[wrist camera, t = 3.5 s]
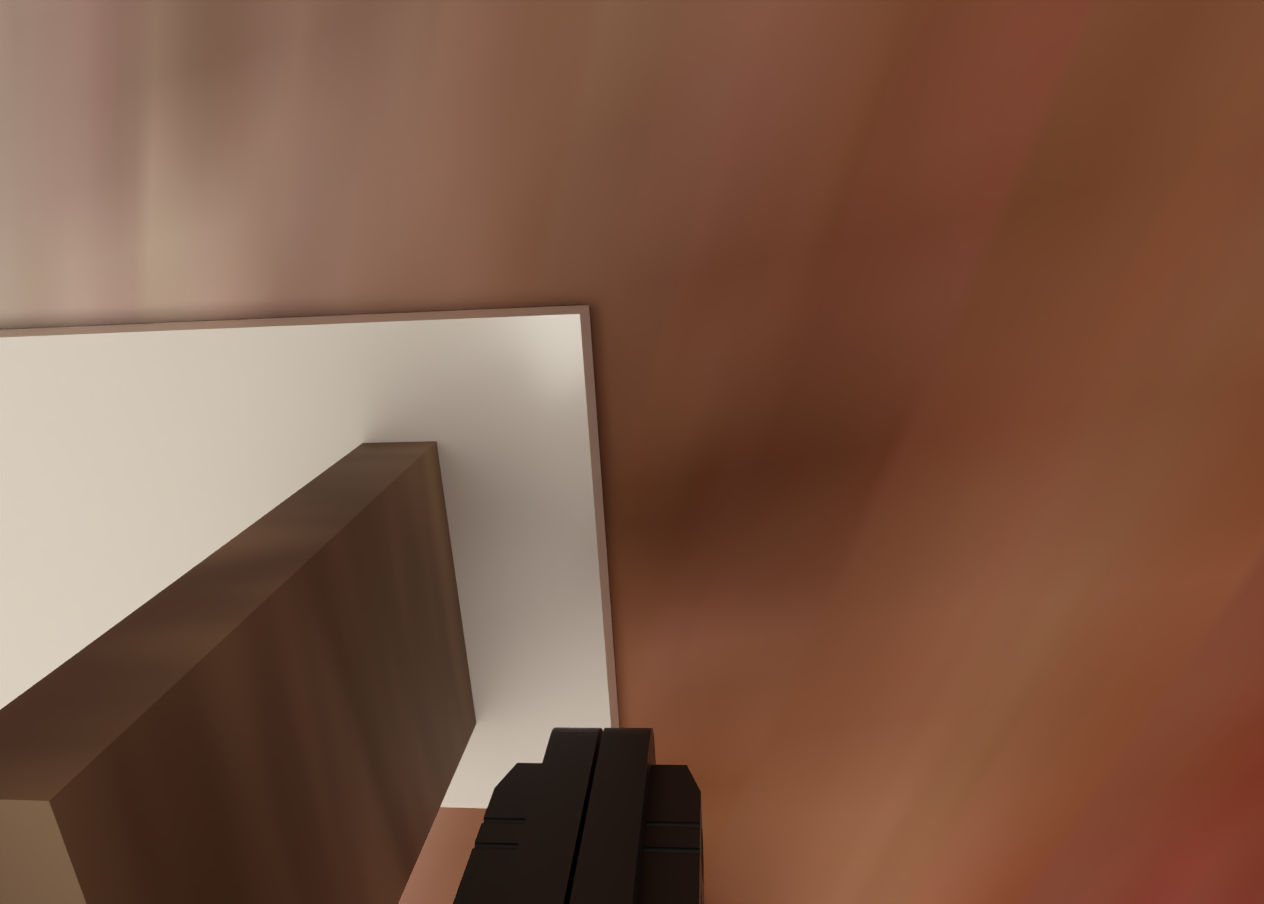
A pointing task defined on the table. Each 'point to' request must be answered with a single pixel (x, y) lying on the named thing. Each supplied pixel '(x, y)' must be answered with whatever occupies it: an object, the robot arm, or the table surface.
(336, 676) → the wooden block
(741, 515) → the table surface
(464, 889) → the robot arm
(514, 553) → the board
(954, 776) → the table surface
